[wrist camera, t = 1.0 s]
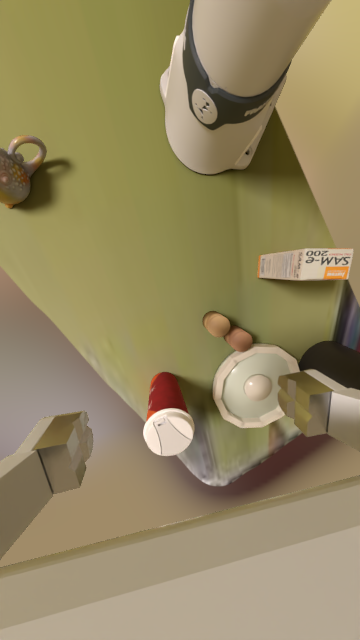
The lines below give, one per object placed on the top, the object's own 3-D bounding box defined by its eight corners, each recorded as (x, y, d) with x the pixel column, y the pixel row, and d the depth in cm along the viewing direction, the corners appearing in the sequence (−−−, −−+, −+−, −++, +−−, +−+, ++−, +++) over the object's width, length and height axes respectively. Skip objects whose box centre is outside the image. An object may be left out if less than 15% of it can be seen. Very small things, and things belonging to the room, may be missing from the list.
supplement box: (294, 254, 42) (356, 247, 29) (291, 277, 43) (349, 280, 30) (257, 254, 41) (305, 247, 28) (255, 278, 42) (301, 281, 29)
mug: (5, 214, 33) (-29, 201, 27) (-25, 171, 31) (-71, 146, 25) (69, 181, 33) (49, 159, 27) (42, 136, 31) (14, 101, 25)
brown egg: (231, 321, 43) (241, 328, 39) (245, 331, 44) (256, 339, 40) (220, 337, 44) (228, 345, 39) (234, 346, 45) (243, 355, 40)
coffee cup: (139, 377, 44) (133, 430, 29) (172, 361, 44) (183, 405, 29) (156, 405, 46) (158, 467, 31) (187, 390, 46) (204, 444, 32)
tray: (248, 326, 44) (254, 329, 42) (309, 369, 49) (317, 374, 47) (195, 398, 47) (197, 405, 44) (258, 431, 52) (263, 439, 50)
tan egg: (210, 307, 42) (217, 312, 37) (225, 317, 43) (234, 323, 38) (198, 323, 42) (204, 330, 38) (213, 333, 44) (221, 341, 39)
